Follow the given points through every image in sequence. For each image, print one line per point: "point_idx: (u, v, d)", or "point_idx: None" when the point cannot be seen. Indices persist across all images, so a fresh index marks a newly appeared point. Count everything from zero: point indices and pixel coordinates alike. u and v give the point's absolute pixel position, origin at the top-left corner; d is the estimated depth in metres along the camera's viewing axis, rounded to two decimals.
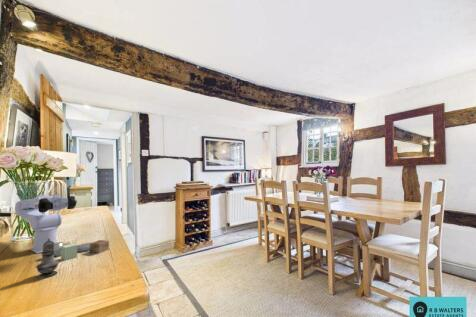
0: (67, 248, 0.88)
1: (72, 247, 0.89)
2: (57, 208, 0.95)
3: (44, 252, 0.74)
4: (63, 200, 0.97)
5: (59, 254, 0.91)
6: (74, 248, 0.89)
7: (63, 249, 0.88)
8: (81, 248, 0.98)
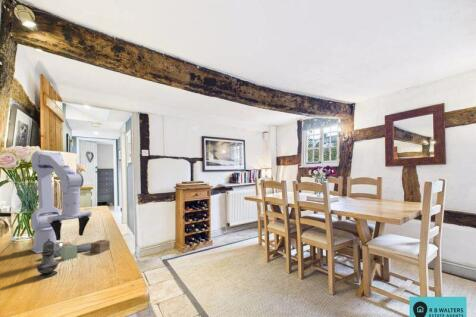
0: (67, 248, 0.88)
1: (72, 247, 0.89)
2: None
3: (44, 252, 0.74)
4: (78, 216, 0.92)
5: (59, 254, 0.91)
6: (74, 248, 0.89)
7: (63, 249, 0.88)
8: (81, 248, 0.98)
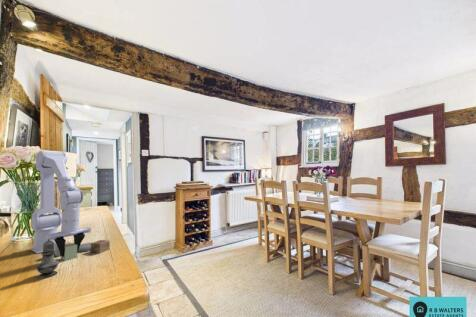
0: (67, 248, 0.88)
1: (72, 247, 0.89)
2: None
3: (44, 252, 0.74)
4: (77, 232, 0.91)
5: (59, 254, 0.91)
6: (74, 248, 0.89)
7: None
8: (81, 248, 0.98)
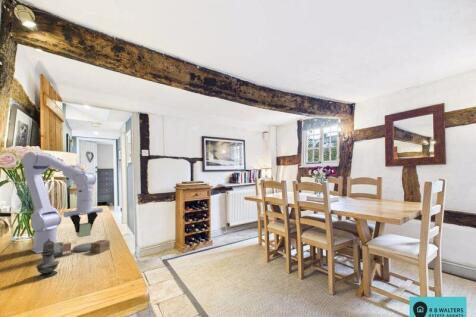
0: (82, 226, 0.96)
1: (86, 225, 0.98)
2: None
3: (44, 252, 0.74)
4: (91, 211, 1.00)
5: (59, 254, 0.91)
6: (88, 226, 0.98)
7: None
8: (81, 248, 0.98)
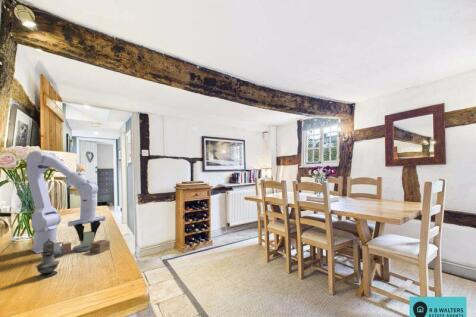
0: (86, 235, 0.99)
1: (90, 234, 1.00)
2: None
3: (44, 252, 0.74)
4: None
5: (59, 254, 0.91)
6: (91, 235, 1.01)
7: None
8: (81, 248, 0.98)
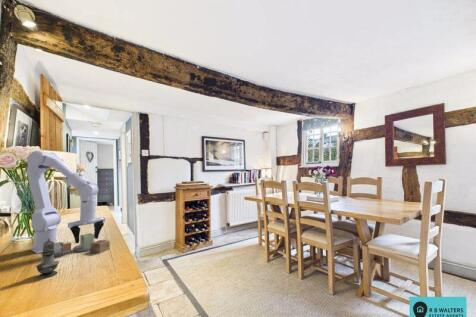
0: (86, 237, 0.99)
1: (90, 236, 1.00)
2: None
3: (44, 252, 0.74)
4: (94, 221, 1.03)
5: (59, 254, 0.91)
6: (91, 237, 1.01)
7: (82, 238, 0.99)
8: (81, 248, 0.98)
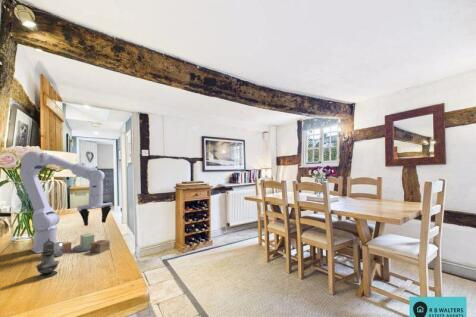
0: (86, 237, 0.99)
1: (90, 236, 1.00)
2: None
3: (44, 252, 0.74)
4: (102, 206, 1.08)
5: (59, 254, 0.91)
6: (91, 237, 1.01)
7: (82, 238, 0.99)
8: (81, 248, 0.98)
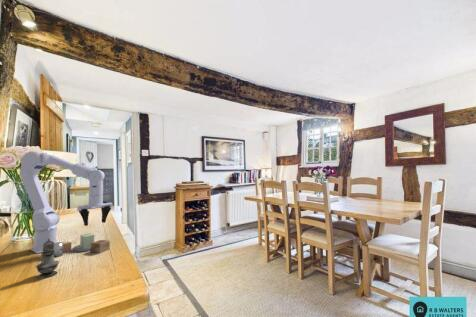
0: (86, 237, 0.99)
1: (90, 236, 1.00)
2: None
3: (44, 252, 0.74)
4: (102, 206, 1.08)
5: (59, 254, 0.91)
6: (91, 237, 1.01)
7: (82, 238, 0.99)
8: (81, 248, 0.98)
